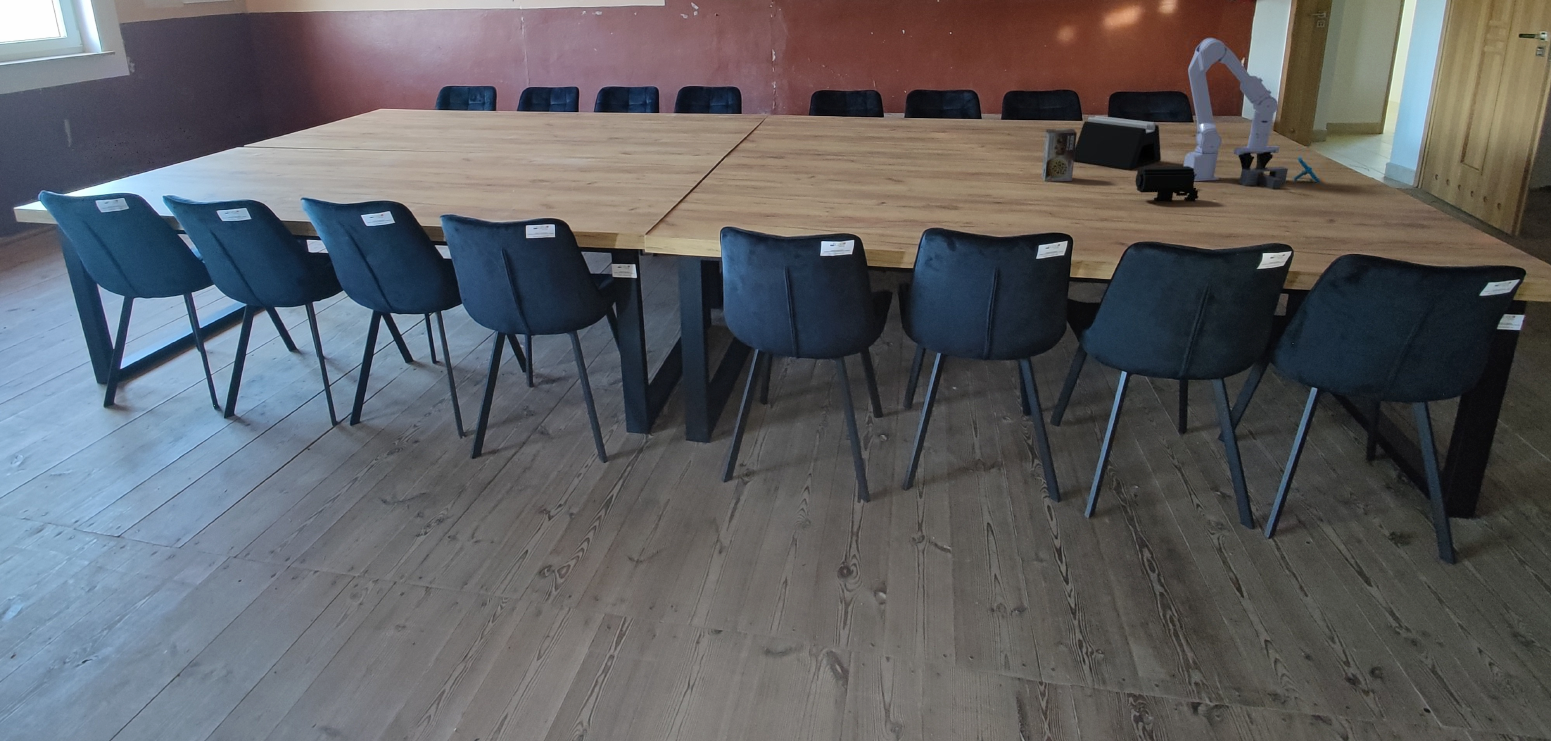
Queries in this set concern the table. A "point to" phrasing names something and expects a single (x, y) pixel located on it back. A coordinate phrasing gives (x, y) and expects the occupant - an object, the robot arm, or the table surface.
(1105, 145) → the device stand
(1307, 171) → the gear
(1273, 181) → the plug
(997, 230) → the table surface
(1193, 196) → the security camera
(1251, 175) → the housing
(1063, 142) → the coffee box
